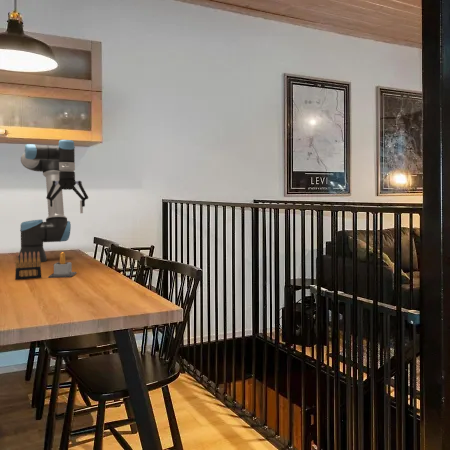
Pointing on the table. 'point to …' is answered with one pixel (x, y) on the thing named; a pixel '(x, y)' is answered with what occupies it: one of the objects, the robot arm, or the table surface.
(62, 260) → the keeper
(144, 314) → the table surface
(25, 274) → the ammunition clip
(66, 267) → the grey square block
